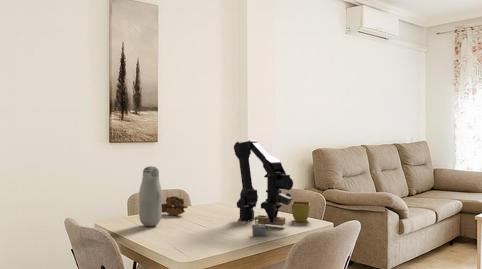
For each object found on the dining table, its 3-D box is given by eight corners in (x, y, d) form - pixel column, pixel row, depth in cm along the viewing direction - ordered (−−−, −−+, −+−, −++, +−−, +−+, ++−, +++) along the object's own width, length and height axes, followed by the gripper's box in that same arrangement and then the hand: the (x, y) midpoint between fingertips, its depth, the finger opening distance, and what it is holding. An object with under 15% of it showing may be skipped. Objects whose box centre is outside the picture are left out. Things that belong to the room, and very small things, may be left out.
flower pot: (309, 223, 198) (309, 204, 198) (291, 222, 200) (291, 204, 200) (310, 219, 207) (310, 201, 207) (292, 218, 209) (292, 201, 209)
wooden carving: (157, 215, 218) (157, 196, 218) (161, 213, 222) (161, 195, 222) (185, 217, 212) (185, 197, 212) (189, 215, 217) (189, 196, 217)
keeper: (251, 234, 177) (251, 224, 177) (264, 233, 177) (264, 224, 177) (252, 236, 172) (252, 226, 172) (265, 236, 173) (265, 226, 173)
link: (254, 223, 191) (254, 217, 191) (258, 221, 196) (258, 215, 196) (282, 226, 186) (282, 219, 186) (285, 223, 191) (285, 217, 191)
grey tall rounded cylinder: (135, 227, 189) (135, 166, 188) (147, 223, 198) (147, 165, 198) (153, 229, 185) (153, 167, 185) (165, 224, 195) (165, 165, 195)
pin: (254, 229, 186) (254, 220, 185) (255, 228, 187) (255, 219, 187) (257, 229, 185) (257, 220, 185) (259, 228, 186) (259, 220, 186)
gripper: (284, 191, 178) (284, 227, 178) (295, 186, 196) (295, 218, 196) (260, 190, 183) (260, 224, 183) (273, 185, 200) (273, 216, 200)
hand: (273, 221), depth 190 cm, fingers closed on link, 4 cm apart
